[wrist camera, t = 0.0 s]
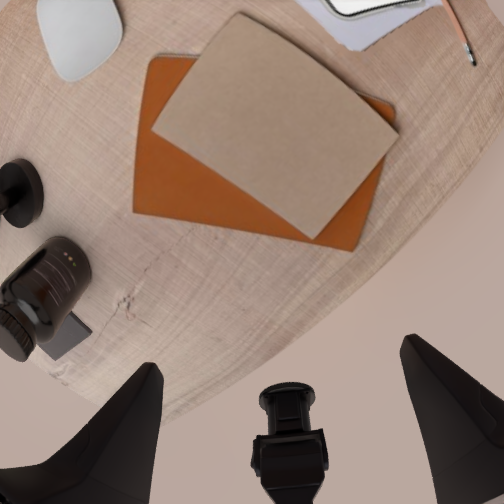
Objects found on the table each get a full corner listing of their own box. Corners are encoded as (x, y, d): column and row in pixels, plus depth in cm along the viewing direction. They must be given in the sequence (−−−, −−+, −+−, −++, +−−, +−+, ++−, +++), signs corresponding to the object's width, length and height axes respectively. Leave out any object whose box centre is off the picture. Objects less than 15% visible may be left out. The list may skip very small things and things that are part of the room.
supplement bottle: (75, 299, 26) (25, 377, 16) (37, 256, 24) (-26, 324, 13) (104, 271, 24) (44, 361, 14) (60, 221, 22) (-20, 293, 11)
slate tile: (92, 331, 29) (90, 335, 28) (56, 358, 33) (55, 361, 32) (41, 280, 25) (39, 283, 25) (17, 320, 30) (15, 322, 29)
